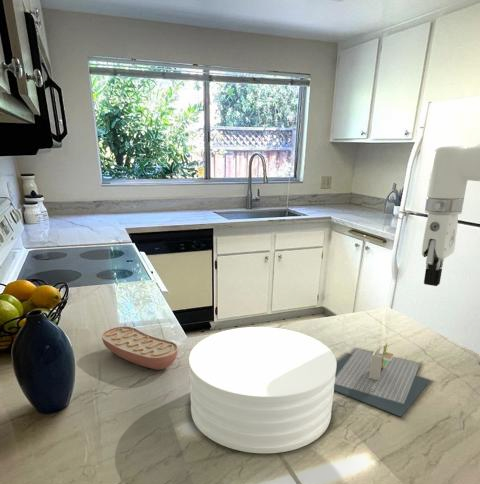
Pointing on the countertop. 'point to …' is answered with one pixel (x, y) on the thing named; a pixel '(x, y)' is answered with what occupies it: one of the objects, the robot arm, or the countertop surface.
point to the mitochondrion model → (140, 347)
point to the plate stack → (261, 388)
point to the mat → (381, 402)
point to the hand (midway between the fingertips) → (431, 284)
